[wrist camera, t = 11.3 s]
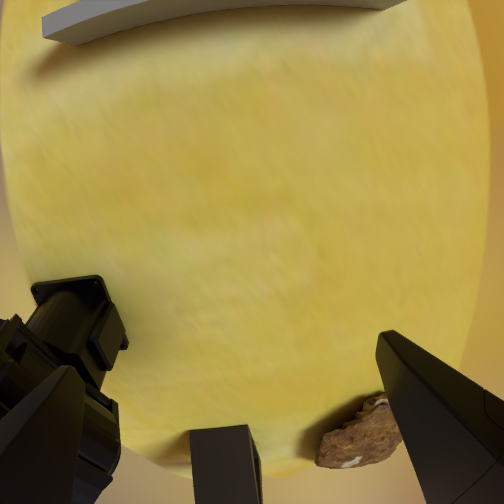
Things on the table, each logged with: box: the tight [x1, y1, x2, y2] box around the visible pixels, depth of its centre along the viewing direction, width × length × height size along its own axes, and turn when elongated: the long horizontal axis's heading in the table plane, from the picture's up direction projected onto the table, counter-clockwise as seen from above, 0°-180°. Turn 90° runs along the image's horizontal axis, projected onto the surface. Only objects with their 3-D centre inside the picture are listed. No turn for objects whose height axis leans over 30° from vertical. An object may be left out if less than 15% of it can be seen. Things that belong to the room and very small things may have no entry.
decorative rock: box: [314, 392, 403, 469], centre depth 30 cm, size 11×4×15 cm
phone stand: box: [189, 425, 263, 504], centre depth 26 cm, size 9×6×12 cm, turn 9°
